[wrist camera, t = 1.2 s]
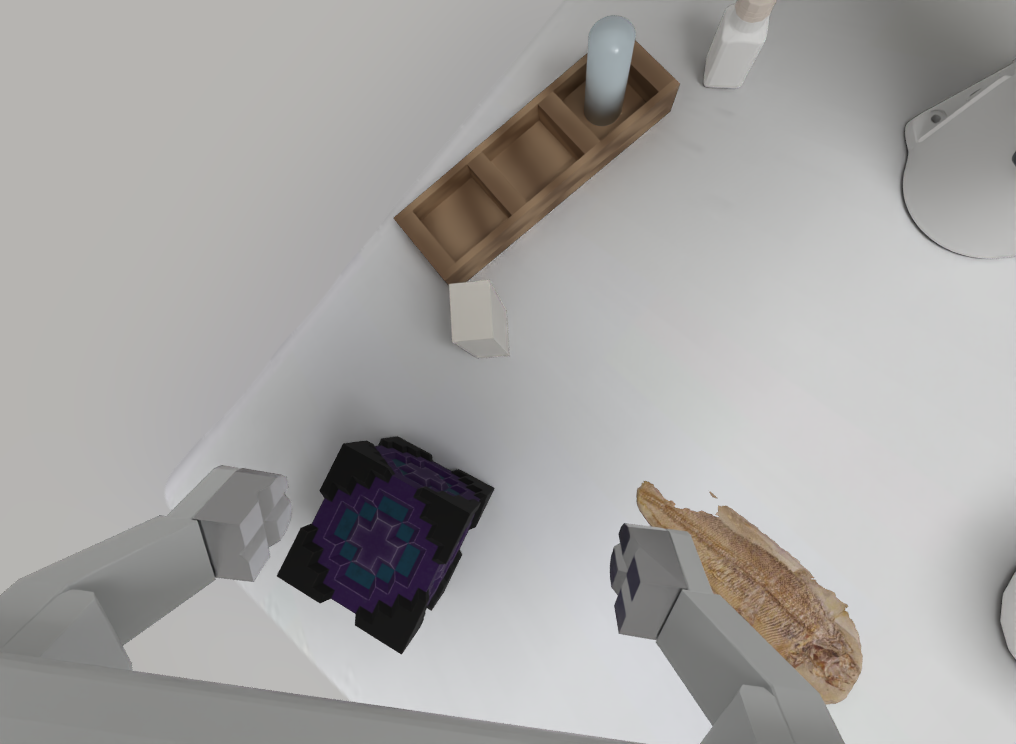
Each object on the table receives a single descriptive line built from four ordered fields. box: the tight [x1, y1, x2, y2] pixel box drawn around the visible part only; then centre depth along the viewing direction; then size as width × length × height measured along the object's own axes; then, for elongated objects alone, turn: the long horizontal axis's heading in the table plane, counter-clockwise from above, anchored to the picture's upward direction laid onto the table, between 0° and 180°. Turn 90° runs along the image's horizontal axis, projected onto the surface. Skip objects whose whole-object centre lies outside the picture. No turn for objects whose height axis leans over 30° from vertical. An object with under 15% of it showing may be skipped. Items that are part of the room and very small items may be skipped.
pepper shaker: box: [704, 0, 777, 89], centre depth 42 cm, size 4×4×10 cm
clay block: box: [449, 280, 510, 359], centre depth 42 cm, size 4×5×11 cm
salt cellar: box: [584, 15, 636, 126], centre depth 42 cm, size 4×4×9 cm
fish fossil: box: [637, 481, 863, 704], centre depth 42 cm, size 26×10×1 cm, turn 48°
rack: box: [394, 40, 680, 285], centre depth 47 cm, size 30×9×4 cm, turn 129°
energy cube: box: [277, 436, 494, 655], centre depth 41 cm, size 12×12×12 cm
